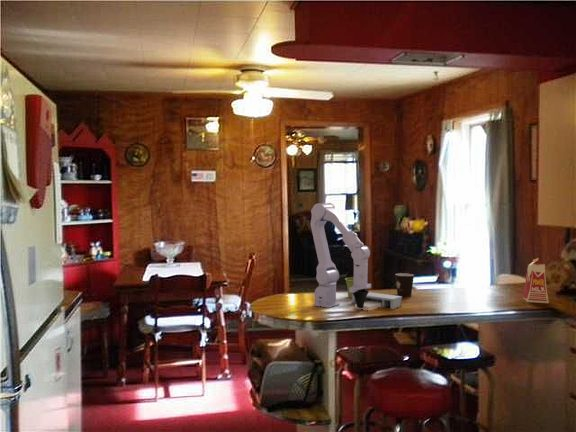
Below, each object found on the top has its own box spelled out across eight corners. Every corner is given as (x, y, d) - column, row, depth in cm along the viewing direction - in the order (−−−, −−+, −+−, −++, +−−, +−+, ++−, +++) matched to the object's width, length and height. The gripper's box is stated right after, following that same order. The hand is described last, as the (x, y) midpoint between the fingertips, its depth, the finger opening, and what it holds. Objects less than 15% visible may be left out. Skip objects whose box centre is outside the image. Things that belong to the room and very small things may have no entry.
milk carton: (548, 303, 256) (550, 258, 255) (526, 302, 258) (528, 258, 257) (543, 299, 265) (545, 256, 264) (522, 298, 266) (523, 255, 266)
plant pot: (358, 300, 259) (358, 281, 259) (340, 297, 265) (341, 279, 265) (368, 297, 267) (369, 278, 266) (351, 294, 272) (351, 276, 272)
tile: (369, 311, 237) (369, 306, 237) (354, 309, 241) (354, 304, 241) (383, 307, 246) (383, 302, 246) (369, 304, 250) (369, 300, 250)
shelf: (393, 309, 240) (393, 299, 240) (352, 303, 252) (352, 293, 252) (401, 306, 247) (401, 296, 246) (361, 300, 259) (361, 291, 259)
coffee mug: (415, 297, 267) (415, 276, 266) (396, 297, 267) (397, 275, 266) (410, 293, 278) (410, 272, 278) (392, 292, 279) (392, 272, 278)
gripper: (360, 278, 229) (359, 311, 230) (377, 274, 241) (377, 306, 242) (345, 276, 234) (344, 309, 234) (363, 272, 245) (362, 303, 246)
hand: (360, 307), depth 238 cm, fingers closed
